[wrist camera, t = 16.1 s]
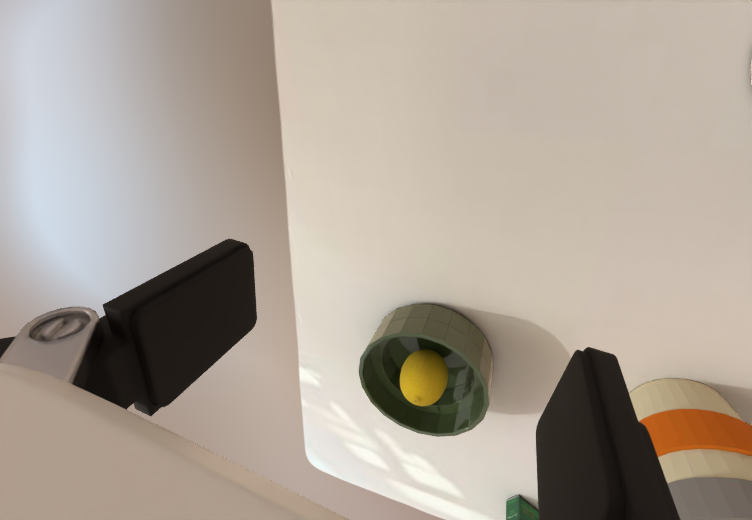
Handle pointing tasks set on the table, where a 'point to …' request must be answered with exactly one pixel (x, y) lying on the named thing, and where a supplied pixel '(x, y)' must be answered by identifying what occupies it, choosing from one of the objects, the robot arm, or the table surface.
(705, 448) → the reusable coffee cup
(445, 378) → the lemon
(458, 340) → the green round bowl
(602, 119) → the table surface
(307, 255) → the table surface
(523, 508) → the coffee box
